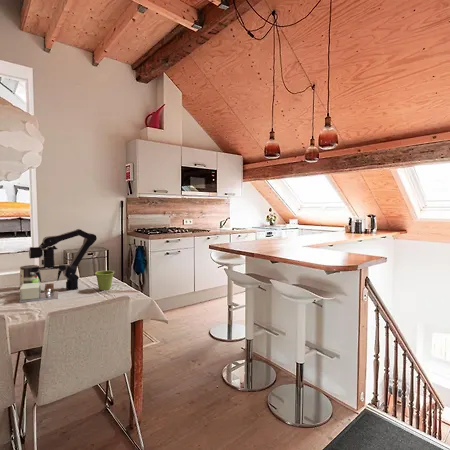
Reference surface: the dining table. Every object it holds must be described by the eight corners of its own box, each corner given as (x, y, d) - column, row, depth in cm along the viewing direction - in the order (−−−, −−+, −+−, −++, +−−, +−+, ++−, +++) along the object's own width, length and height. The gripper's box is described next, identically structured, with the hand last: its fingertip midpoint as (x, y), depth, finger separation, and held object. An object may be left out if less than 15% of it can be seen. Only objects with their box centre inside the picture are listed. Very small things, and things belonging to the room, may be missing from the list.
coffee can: (42, 286, 205) (42, 265, 204) (30, 290, 195) (29, 268, 194) (29, 285, 207) (29, 264, 206) (16, 289, 197) (16, 267, 196)
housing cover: (40, 292, 186) (40, 282, 186) (38, 297, 175) (38, 287, 175) (23, 293, 182) (22, 283, 182) (20, 299, 171) (19, 289, 171)
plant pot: (98, 293, 192) (98, 275, 191) (92, 288, 201) (92, 272, 200) (117, 289, 200) (117, 272, 199) (110, 286, 209) (110, 269, 208)
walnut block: (53, 291, 195) (53, 283, 194) (53, 292, 191) (53, 284, 190) (45, 291, 193) (45, 284, 192) (45, 293, 189) (44, 285, 188)
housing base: (58, 292, 191) (58, 287, 191) (57, 298, 179) (57, 292, 179) (22, 296, 182) (22, 290, 182) (19, 302, 171) (19, 296, 170)
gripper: (65, 254, 202) (66, 277, 203) (32, 255, 193) (33, 280, 194) (65, 256, 192) (66, 281, 193) (30, 258, 183) (31, 284, 184)
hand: (49, 281), depth 191 cm, fingers open, 9 cm apart
